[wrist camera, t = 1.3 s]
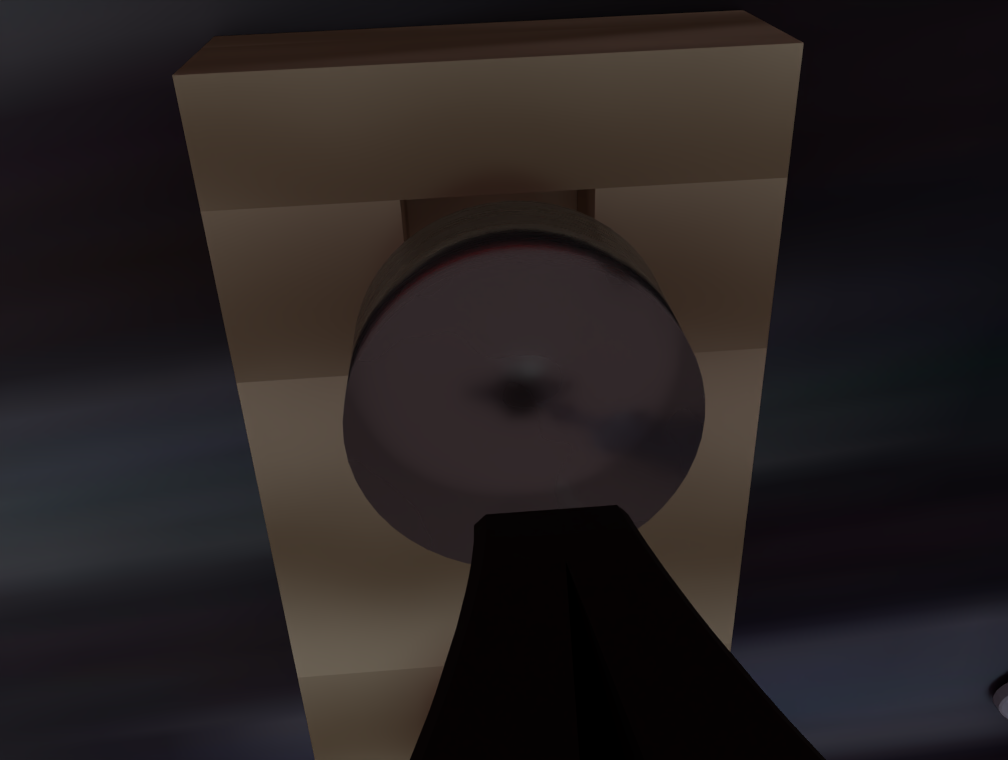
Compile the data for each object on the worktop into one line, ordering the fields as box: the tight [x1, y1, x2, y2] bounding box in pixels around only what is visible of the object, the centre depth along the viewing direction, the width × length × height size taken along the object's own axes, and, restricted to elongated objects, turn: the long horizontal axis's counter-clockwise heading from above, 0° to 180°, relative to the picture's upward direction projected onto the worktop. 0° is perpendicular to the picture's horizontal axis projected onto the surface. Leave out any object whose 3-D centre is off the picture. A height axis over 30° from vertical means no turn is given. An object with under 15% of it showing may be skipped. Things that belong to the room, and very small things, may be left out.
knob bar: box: [172, 10, 804, 760], centre depth 21 cm, size 27×9×3 cm, turn 2°
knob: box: [342, 201, 705, 564], centre depth 13 cm, size 4×4×4 cm
